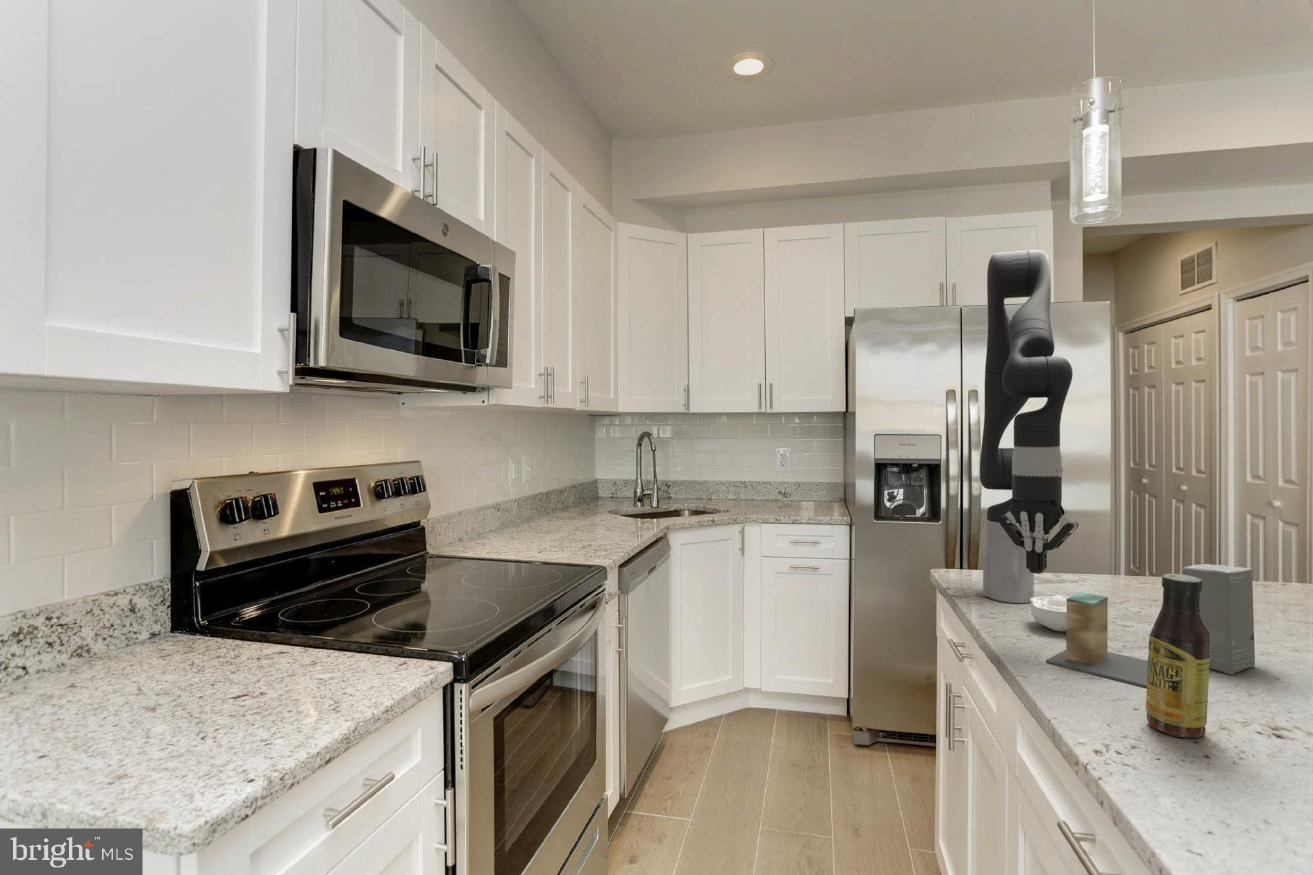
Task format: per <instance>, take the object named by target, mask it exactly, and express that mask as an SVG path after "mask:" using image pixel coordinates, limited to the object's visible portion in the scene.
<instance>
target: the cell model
mask: <svg viewBox="0 0 1313 875" xmlns="http://www.w3.org/2000/svg"><path fill="white" fill-rule="evenodd" d="M1069 597H1070V596H1063V595H1058V594H1056V595H1053V596H1034V597H1033V598H1031V599H1030V602H1029V603H1030V610H1031V616H1032V617H1033V618H1034V620H1035V621H1036V622H1038V624H1040V625H1042V626H1044V627H1046V628H1048V629H1049V630H1052V631H1055V632H1066V615H1067V598H1069Z"/></svg>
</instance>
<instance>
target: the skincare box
mask: <svg viewBox="0 0 1313 875" xmlns="http://www.w3.org/2000/svg"><path fill="white" fill-rule="evenodd" d="M1182 570H1183V571H1182V573H1183V574H1182V575H1188V576H1193V577H1196V578H1199V579H1201V580H1202V590H1201V592H1200V600H1199V609H1200V612H1199V614H1200V617H1201V620H1202V622H1203V624H1204V625H1205V627H1206V628H1207V630H1208V632H1209V637H1210V643H1209V656H1210V663H1209V669H1210V670H1215V671H1217V672H1222V673H1224V674H1228V675H1234V674H1235V673H1239V672H1240V671H1244V670H1246V669H1249V668H1252V667H1254V666H1256V651H1255V649H1256V648H1255V625H1254V624H1255V623H1254V622H1255V621H1254V615H1255V614H1254V590H1253V589H1254V587H1253V586H1254V585H1253V568H1248V567H1240V566H1232V565H1231V566H1230V565H1222V564H1215V563H1214V564H1213V563H1204V564H1193V565H1189V566H1184V567H1183V568H1182Z"/></svg>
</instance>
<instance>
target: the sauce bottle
mask: <svg viewBox="0 0 1313 875" xmlns="http://www.w3.org/2000/svg"><path fill="white" fill-rule="evenodd" d="M1161 579H1162V580H1161V587H1162V589H1163V592H1162V604H1161V608H1160V611H1159V612H1158V615H1157V617H1156V619H1155V621H1154V624H1153V626H1152V628H1151V631H1150V633H1149V636H1148V637H1149V638H1148V652H1147V653H1148V654H1147V655H1148V656H1147V661H1148V670H1147V671H1148V672H1147V688H1146V702H1145V710H1146V720H1147V722H1148V724H1149V725H1150V726H1151V728H1154V729H1155V730H1157V731H1159V732H1161V733H1164V734H1167V735H1169V736H1172V737H1175V738H1186V739H1188V738H1189V739H1195V738H1196V739H1197V738H1201V737H1202V736H1204V735H1205V733H1206V726H1207V722H1208V704H1209V702H1208V701H1209V700H1208V699H1209V680H1210V679H1209V678H1210V668H1209V663H1210V656H1209V643H1210V637H1209V632H1208V630H1207V628H1206V627H1205V625H1204V624H1203V622H1202V620H1201V617H1200V614H1199V612H1200V609H1199V600H1200V592H1201V590H1202V580H1201V579H1199V578H1196V577H1193V576H1188V575H1183V574H1180V573H1179V574H1178V573H1165V574H1163V575H1162V578H1161Z"/></svg>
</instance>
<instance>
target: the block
mask: <svg viewBox="0 0 1313 875" xmlns="http://www.w3.org/2000/svg"><path fill="white" fill-rule="evenodd" d="M1068 597H1069V598H1067V615H1066V631H1065V632H1066V636H1065V637H1066V638H1065V639H1066V643H1065V644H1066V649H1065V650H1066V659H1068V660H1072V661H1076V662H1081V663H1085V664H1089V665H1093V666H1094V665H1096V664H1097V663H1099V662H1100V661H1102V660H1104V659H1105V658H1107V652H1108V639H1109V638H1108V636H1109V635H1108V634H1109V632H1108V628H1109V627H1108V626H1109V625H1108V624H1109V622H1108V620H1109V619H1108V618H1109V616H1108V615H1109V614H1108V606H1109V605H1108V603H1109V602H1108V601H1109V600H1108V596H1104V595H1098V594H1092V593H1087V592H1078V593H1075V594H1074V595H1071V596H1068Z"/></svg>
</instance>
